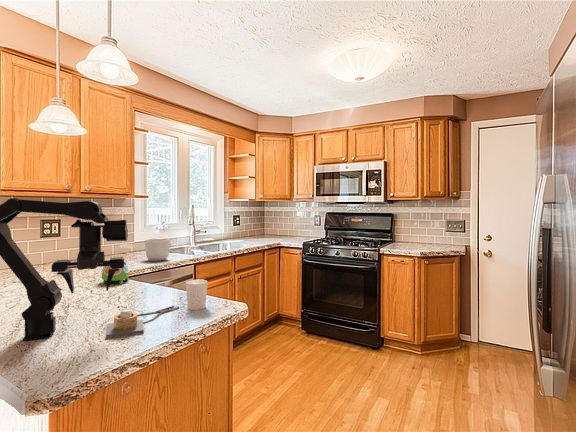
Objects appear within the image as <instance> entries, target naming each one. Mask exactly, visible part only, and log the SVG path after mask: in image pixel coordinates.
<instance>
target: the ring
mask: <svg viewBox="0 0 576 432" xmlns="http://www.w3.org/2000/svg"><path fill="white" fill-rule="evenodd" d="M137 315H138V313H137V312H131V317H129V318H120V313H118V314H116V315H115V316H113V323H114V330H117V331H125V330H130V329H134V328H135V327H137V320H138V316H137Z"/></svg>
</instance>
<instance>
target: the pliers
mask: <svg viewBox="0 0 576 432" xmlns="http://www.w3.org/2000/svg"><path fill="white" fill-rule="evenodd" d="M179 308H180V306H176V307H175V305H171V306H168V307H165V308H162V309H159V310H156V311H151V312H145V313H140V314H138V313H137V317H143V316H149V315H155V314H156V315H155V316H154V317H153V318H151V319H149V320H146V321H143V325H145V324H148V323H150V322H153V321H155V320H156V319H158V318H159V317H160V316H161V315H164V314H166V313H170V312H174V311H176V310H179Z"/></svg>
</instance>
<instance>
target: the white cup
mask: <svg viewBox="0 0 576 432" xmlns="http://www.w3.org/2000/svg"><path fill="white" fill-rule="evenodd" d="M185 289H186V291H185V292H186V301H187V302H186V303H187V308H186V309H188V310H190V311H191V310H192V311H199V310H203V309H205V308H206V305H207V295H208V294H207V293H208V280H205V279H191V280H188V281H186V282H185Z"/></svg>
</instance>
